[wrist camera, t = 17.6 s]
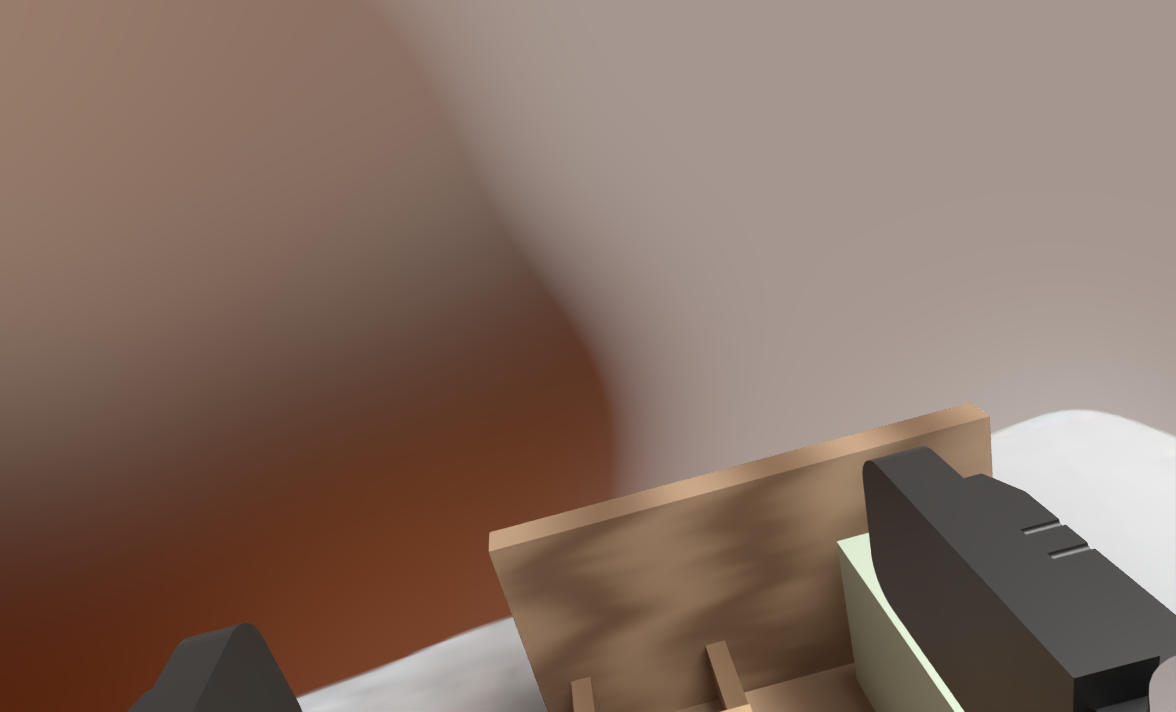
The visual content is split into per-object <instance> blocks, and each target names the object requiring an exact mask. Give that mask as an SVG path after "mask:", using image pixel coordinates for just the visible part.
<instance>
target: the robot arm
mask: <svg viewBox="0 0 1176 712" xmlns="http://www.w3.org/2000/svg"><path fill="white" fill-rule="evenodd" d="M862 476H863V486H864V495H865V504H866V513H867V522H868V531H869V540H870V548H871V557H872V562H873V567H874V570H875V574H876V577H877V580H878V582H879V585H880V587H881V590H882V592H883V594H884V596H885V598H886V600H887V602H888V603H889V605H890V607H891V608H892V610H893V611H894V612H895V614H896V615H897V617H898V618H899V620H900V621H901V622H902V624H903V625H904V627H905V628H906V629H907V631H908V632H909V634H910V635H911V637H912V638H913V639H914V641H915V642H916V644H917V645H918V647H919V648H920V649H921V651H922V652H923V654H924V655H925V656H926V658H927V659H928V661H929V662H930V664H931V665H932V666H933V668H934V669H935V671H936V672H937V673H938V675H939V676H940V678H941V679H942V681H943V682H944V683H945V685H946V686H947V688H948V689H949V691H950V692H951V693H952V695H953V696H954V698H955V699H956V700H957V702H958V703H959V705H960V706H961V708H962V709H963V710H964V712H1176V615H1175V614H1174V613H1173V612H1172V611H1170V610H1169V609H1168V608H1167V607H1165V606H1164V605H1163V604H1162V603H1161V602H1159V601H1158V600H1157V599H1156V598H1154V597H1153V596H1152V595H1151V594H1150V593H1148V592H1147V591H1146V590H1145V589H1143V588H1142V587H1141V586H1140V585H1139V584H1137V583H1136V582H1135V581H1134V580H1133V579H1131V578H1130V577H1129V576H1128V575H1126V574H1125V573H1124V572H1123V571H1122V570H1120V569H1119V568H1118V567H1117V566H1115V565H1114V564H1113V563H1112V562H1111V561H1109V560H1108V559H1107V558H1106V557H1104V556H1103V555H1102V554H1101V553H1100V552H1098V551H1097V550H1096V549H1092V550H1091V549H1090V548H1089V546H1088V543H1087V542H1086V541H1085V540H1084V539H1083V538H1081V537H1080V536H1079V535H1078V534H1076V533H1075V532H1074V531H1073V530H1072V529H1070V528H1069V527H1068V526H1067V525H1063V526H1062V525H1061V524H1060V522H1059V519H1058V518H1057V517H1056V516H1055V515H1053V514H1052V513H1051V512H1050V511H1048V510H1047V509H1046V508H1045V507H1044V506H1042V505H1041V504H1040V503H1039V502H1037V501H1036V500H1035V499H1034V498H1033V497H1031V496H1030V495H1029V494H1028V493H1026V492H1025V491H1023V490H1020V489H1018V488H1015V487H1013V486H1011V485H1008V484H1006V483H1003V482H1001V481H999V480H996V479H994V478H991V477H989V476H987V475H984V474H982V473H981V474H977V475H973V476H969V477H966V478H963V477H962V476H961V475H960V474H959V473H957V472H956V471H955V470H954V469H953V468H952V467H951V466H950V465H949V464H947V463H946V462H945V461H944V460H943V459H942V458H941V457H940V456H939V455H937V454H936V453H935V452H934V451H933V450H932V449H930V448H928V447H926V446H921V447H917V448H913V449H909V450H906V451H902V452H898V453H894V454H890V455H887V456H883V457H879V458H875V459H871V460H868V461H866V462H865V463H864V465H863V470H862ZM127 712H302V710H301V707H300V705H299V703H298V701H297V699H296V697H295V696H294V694H293V692H292V690H291V689H290V687H289V685H288V683H287V681H286V679H285V677H284V675H283V674H282V672H281V670H280V668H279V666H278V664H277V662H276V661H275V659H274V657H273V655H272V653H271V651H270V650H269V648H268V646H267V644H266V642H265V640H264V638H263V637H262V635H261V633H260V632H259V630H258V629H257V628H256V627H255V626H253V625H252V624H249V623H242V624H239V625H235V626H231V627H228V628H224V629H220V630H216V631H212V632H208V633H204V634H201V635H197V636H193V637H189V638H187V639H185V640H183V641H182V642H181V643H180V644H179V645H178V646H177V648H176V649H175V651H174V653H173V654H172V656H171V658H170V659H169V661H168V663H167V664H166V666H165V668H164V670H163V671H162V673H161V675H160V676H159V678H158V680H157V682H156V683H155V685H154V687H153V689H152V690H150V691H147V692H145V693H144V694H143V696H141V697H140V698H139V699H138V701H137V702H136V703H135V704H134V705H133V706H132V707H131V708H130V709H129V710H128V711H127Z"/></svg>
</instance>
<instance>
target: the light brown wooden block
mask: <svg viewBox="0 0 1176 712" xmlns="http://www.w3.org/2000/svg"><path fill="white" fill-rule="evenodd" d="M721 712H752V709H751V707H750V704H748V705H744V706H740V707H736V708H732V709H729V710H725V711H721Z"/></svg>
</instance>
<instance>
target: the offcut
mask: <svg viewBox="0 0 1176 712" xmlns="http://www.w3.org/2000/svg"><path fill="white" fill-rule="evenodd" d="M837 547H838V554H839V561H840V568H841V575H842V581H843V588H844V595H845V602H846V609H847V616H848V622H849V629H850V636H851V643H852V650H853V656H854V663H855V670H856V677H857V680H858V682H859V684H860V686H861V688H862V689H863V691H864V693H865V695H866V696H867V698H868V700H869V702H870V703H871V705H872V707H873V709H874V710H875V712H964V710H963V709H962V708H961V706H960V705H959V703H958V702H957V700H956V699H955V698H954V696H953V695H952V693H951V692H950V691H949V689H948V688H947V686H946V685H945V683H944V682H943V681H942V679H941V678H940V676H939V675H938V673H937V672H936V671H935V669H934V668H933V666H932V665H931V664H930V662H929V661H928V659H927V658H926V656H925V655H924V654H923V652H922V651H921V649H920V648H919V647H918V645H917V644H916V642H915V641H914V639H913V638H912V637H911V635H910V634H909V632H908V631H907V629H906V628H905V627H904V625H903V624H902V622H901V621H900V620H899V618H898V617H897V615H896V614H895V612H894V611H893V610H892V608H891V607H890V605H889V603H888V602H887V600H886V598H885V596H884V594H883V592H882V590H881V587H880V585H879V582H878V580H877V577H876V574H875V570H874V567H873V562H872V557H871V548H870V540H869V533H866V534H862V535H859V536H855V537H851V538H847V539H844V540H840V541H837Z"/></svg>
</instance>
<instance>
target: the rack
mask: <svg viewBox="0 0 1176 712" xmlns="http://www.w3.org/2000/svg"><path fill="white" fill-rule="evenodd" d="M921 446H926V447H928V448H930V449H932V450H933V451H934V452H935V453H936V454H937V455H939V456H940V457H941V458H942V459H943V460H944V461H945V462H946V463H947V464H949V465H950V466H951V467H952V468H953V469H954V470H955V471H956V472H957V473H959V474H960V475H961V476H962V477H963V478H966V477H969V476H973V475H977V474H981V473H982V474H984V475H987V476H989V477H991V478H992V456H991V434H990V416H989V415H987V414H986V413H984V412H983V411H982V410H980V409H978V408H977V407H976V406H975V405H973V404H972V403H967V404H964V405H960V406H956V407H953V408H949V409H945V410H942V411H938V412H934V413H930V414H927V415H923V416H919V417H916V418H912V419H908V420H904V421H901V422H897V423H893V424H890V425H886V426H883V427H879V428H875V429H871V430H867V431H864V432H860V433H856V434H853V435H849V436H845V437H842V438H838V439H834V440H830V441H827V442H823V443H819V444H816V445H812V446H808V447H805V448H801V449H797V450H794V451H790V452H786V453H782V454H779V455H775V456H772V457H768V458H764V459H760V460H756V461H753V462H749V463H745V464H742V465H738V466H734V467H731V468H727V469H723V470H720V471H716V472H712V473H708V474H705V475H701V476H697V477H694V478H690V479H686V480H683V481H679V482H675V483H671V484H668V485H664V486H660V487H656V488H653V489H649V490H645V491H642V492H638V493H634V494H631V495H627V496H623V497H620V498H616V499H612V500H608V501H605V502H601V503H597V504H594V505H590V506H586V507H582V508H580V509H575V510H572V511H568V512H564V513H560V514H557V515H553V516H549V517H546V518H542V519H538V520H534V521H531V522H527V523H523V524H520V525H516V526H512V527H508V528H505V529H501V530H497V531H494V532H490V539H489V554H490V556H491V559H492V562H493V564H494V567H495V570H496V572H497V575H498V578H499V581H500V583H501V586H502V589H503V591H504V594H505V597H506V600H507V602H508V605H509V608H510V610H511V613H512V616H513V619H514V621H515V624H516V627H517V629H518V632H519V635H520V637H521V640H522V643H523V646H524V648H525V651H526V654H527V656H528V659H529V662H530V664H531V667H532V670H533V673H534V675H535V678H536V681H537V683H538V686H539V689H540V691H541V694H542V697H543V700H544V702H545V705H546V708H547V710H548V712H721V711H725V710H729V709H732V708H736V707H740V706H744V705H748V704H750V707H751V709H752V712H875V710H874V709H873V707H872V705H871V703H870V702H869V700H868V698H867V696H866V695H865V693H864V691H863V689H862V688H861V686H860V684H859V682H858V680H857V677H856V670H855V663H854V656H853V650H852V643H851V636H850V629H849V622H848V616H847V609H846V602H845V595H844V588H843V581H842V575H841V568H840V561H839V554H838V547H837V541H840V540H844V539H847V538H851V537H855V536H859V535H862V534H866V533H869V531H868V522H867V513H866V504H865V495H864V486H863V476H862V470H863V465H864V463H865V462H866V461H868V460H871V459H875V458H879V457H883V456H887V455H890V454H894V453H898V452H902V451H906V450H909V449H913V448H917V447H921Z"/></svg>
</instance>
